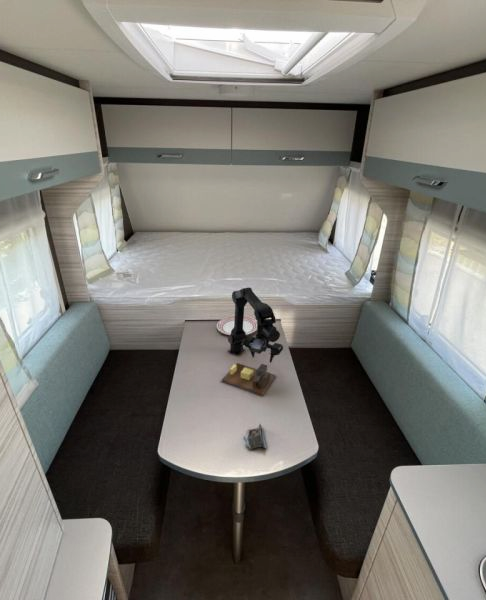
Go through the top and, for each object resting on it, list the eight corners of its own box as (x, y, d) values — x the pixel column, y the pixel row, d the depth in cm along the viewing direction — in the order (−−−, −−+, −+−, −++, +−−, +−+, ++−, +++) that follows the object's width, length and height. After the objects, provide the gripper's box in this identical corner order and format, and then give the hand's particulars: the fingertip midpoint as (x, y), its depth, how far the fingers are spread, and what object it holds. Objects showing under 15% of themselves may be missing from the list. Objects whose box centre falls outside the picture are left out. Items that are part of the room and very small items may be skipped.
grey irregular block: (244, 427, 135) (240, 428, 124) (260, 423, 135) (258, 423, 124) (250, 452, 131) (247, 454, 120) (267, 447, 131) (265, 449, 120)
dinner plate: (219, 341, 198) (218, 336, 197) (215, 320, 223) (215, 316, 221) (263, 337, 202) (263, 332, 201) (254, 318, 227) (254, 313, 225)
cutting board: (221, 381, 162) (221, 375, 160) (237, 365, 175) (237, 358, 173) (262, 395, 153) (262, 388, 151) (275, 377, 166) (275, 370, 164)
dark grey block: (255, 384, 158) (255, 371, 154) (262, 375, 164) (262, 362, 161) (260, 386, 156) (261, 372, 153) (267, 377, 163) (268, 364, 160)
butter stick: (240, 377, 163) (240, 372, 162) (244, 372, 167) (244, 367, 165) (249, 380, 161) (249, 375, 159) (253, 375, 164) (253, 370, 163)
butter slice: (229, 373, 165) (229, 368, 164) (234, 369, 169) (234, 364, 168) (232, 374, 165) (232, 369, 164) (236, 370, 168) (236, 364, 167)
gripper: (237, 334, 149) (237, 362, 155) (274, 344, 141) (273, 374, 147) (248, 324, 158) (247, 351, 164) (284, 333, 150) (282, 361, 156)
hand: (261, 359), depth 158 cm, fingers open, 9 cm apart
